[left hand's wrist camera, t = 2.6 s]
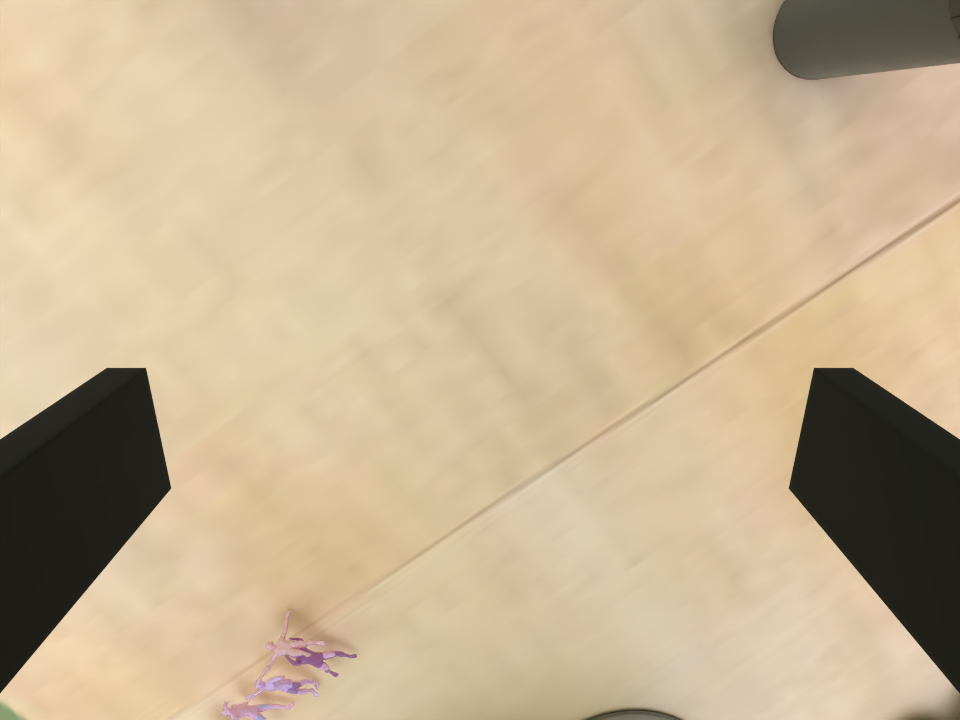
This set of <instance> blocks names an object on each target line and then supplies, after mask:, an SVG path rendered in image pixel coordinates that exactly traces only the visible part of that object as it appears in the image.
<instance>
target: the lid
mask: <svg viewBox="0 0 960 720" xmlns="http://www.w3.org/2000/svg"><path fill="white" fill-rule="evenodd" d="M948 9H949V15H950V19H949V21H950V22H952V25H953V28H954V30H955V32H956V34H957V36H958V37H957V39H958V40H960V0H948Z"/></svg>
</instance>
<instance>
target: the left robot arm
mask: <svg viewBox="0 0 960 720" xmlns="http://www.w3.org/2000/svg"><path fill="white" fill-rule="evenodd" d="M170 489H171V485H170V481H169V476H168V471H167V466H166V462H165V457H164V452H163V447H162V442H161V438H160V433H159V428H158V423H157V419H156V414H155V409H154V404H153V400H152V395H151V390H150V385H149V380H148V376H147V371H146V368H106V369H105V370H103V371H102V372H100V373H99V374H97V375H96V376H94V377H93V378H91V379H90V380H88V381H87V382H85V383H84V384H82V385H81V386H79V387H78V388H76V389H75V390H73V391H72V392H70V393H69V394H67V395H66V396H64V397H63V398H61V399H60V400H58V401H57V402H55V403H54V404H52V405H51V406H50V407H48V408H47V409H45V410H44V411H42V412H41V413H39V414H38V415H36V416H35V417H33V418H32V419H30V420H29V421H27V422H26V423H24V424H23V425H21V426H20V427H18V428H17V429H15V430H14V431H12V432H11V433H9V434H8V435H6V436H5V437H3V438H2V439H0V693H1V692H2V691H3V689H4V688H5V687H6V686H7V685H8V683H9V682H10V681H11V680H12V679H13V677H14V676H15V675H16V674H17V673H18V671H19V670H20V669H21V668H22V667H23V665H24V664H25V663H26V662H27V661H28V659H29V658H30V657H31V656H32V655H33V653H34V652H35V651H36V650H37V649H38V647H39V646H40V645H41V644H42V643H43V641H44V640H45V639H46V638H47V637H48V635H49V634H50V633H51V632H52V631H53V629H54V628H55V627H56V626H57V625H58V623H59V622H60V621H61V620H62V619H63V617H64V616H65V615H66V614H67V613H68V611H69V610H70V609H71V608H72V607H73V605H74V604H75V603H76V602H77V601H78V599H79V598H80V597H81V596H82V595H83V593H84V592H85V591H86V590H87V589H88V587H89V586H90V585H91V584H92V583H93V581H94V580H95V579H96V578H97V577H98V575H99V574H100V573H101V572H102V571H103V569H104V568H105V567H106V566H107V565H108V563H109V562H110V561H111V560H112V559H113V557H114V556H115V555H116V554H117V553H118V551H119V550H120V549H121V548H122V547H123V545H124V544H125V543H126V542H127V541H128V539H129V538H130V537H131V536H132V535H133V534H134V532H135V531H136V530H137V529H138V528H139V526H140V525H141V524H142V523H143V522H144V520H145V519H146V518H147V517H148V516H149V514H150V513H151V512H152V511H153V510H154V508H155V507H156V506H157V505H158V504H159V502H160V501H161V500H162V499H163V498H164V496H165V495H166V494H167V493H168V492H169V490H170ZM789 489H790V490H791V492H792V493H793V494H794V495H795V496H796V498H797V499H798V500H799V501H800V502H801V504H802V505H803V506H804V507H805V508H806V510H807V511H808V512H809V513H810V514H811V516H812V517H813V518H814V519H815V520H816V522H817V523H818V524H819V525H820V526H821V528H822V529H823V530H824V531H825V532H826V534H827V535H828V536H829V537H830V538H831V539H832V541H833V542H834V543H835V544H836V545H837V547H838V548H839V549H840V550H841V551H842V553H843V554H844V555H845V556H846V557H847V559H848V560H849V561H850V562H851V563H852V565H853V566H854V567H855V568H856V569H857V571H858V572H859V573H860V574H861V575H862V577H863V578H864V579H865V580H866V581H867V583H868V584H869V585H870V586H871V587H872V589H873V590H874V591H875V592H876V593H877V595H878V596H879V597H880V598H881V599H882V601H883V602H884V603H885V604H886V605H887V607H888V608H889V609H890V610H891V611H892V613H893V614H894V615H895V616H896V617H897V619H898V620H899V621H900V622H901V623H902V625H903V626H904V627H905V628H906V629H907V631H908V632H909V633H910V634H911V635H912V637H913V638H914V639H915V640H916V641H917V643H918V644H919V645H920V646H921V647H922V649H923V650H924V651H925V652H926V653H927V655H928V656H929V657H930V658H931V659H932V661H933V662H934V663H935V664H936V665H937V667H938V668H939V669H940V670H941V671H942V673H943V674H944V675H945V676H946V677H947V679H948V680H949V681H950V682H951V683H952V685H953V686H954V687H955V688H956V689H957V691H958V692H959V693H960V439H958V438H957V437H955V436H954V435H952V434H951V433H949V432H948V431H946V430H945V429H943V428H942V427H940V426H939V425H937V424H936V423H934V422H933V421H931V420H930V419H928V418H927V417H925V416H924V415H922V414H921V413H919V412H918V411H916V410H915V409H913V408H912V407H910V406H909V405H907V404H906V403H905V402H903V401H902V400H900V399H899V398H897V397H896V396H894V395H893V394H891V393H890V392H888V391H887V390H885V389H884V388H882V387H881V386H879V385H878V384H876V383H875V382H873V381H872V380H870V379H869V378H867V377H866V376H864V375H863V374H861V373H860V372H858V371H857V370H855V369H854V368H814V371H813V376H812V380H811V385H810V390H809V395H808V400H807V404H806V409H805V414H804V419H803V423H802V428H801V433H800V438H799V442H798V447H797V452H796V457H795V462H794V466H793V471H792V476H791V481H790V485H789ZM590 720H679V719H676V718H674V717H671V716H668V715H664V714H661V713H655V712H648V711H622V712H615V713H609V714H605V715H601V716H598V717H595V718H592V719H590Z"/></svg>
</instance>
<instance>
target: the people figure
mask: <svg viewBox="0 0 960 720" xmlns="http://www.w3.org/2000/svg"><path fill="white" fill-rule="evenodd" d="M290 612H291V611H290V609H289V610H288V611H287V614H286V620H285V624H284V629H283V632H282V634H281V636H280V638H279V640H278V641H277V643H276V645H275V644H274V643H273V642H268V643H267V644H266V649H268V650H273V654H272V657H271V660H270V662H269V664H268V665H267V667H266V668H265V670H264V671H263V673H262V674H261V676H260V677H259V678H258V680H256V681H255V683H254V685H255V687H256V688H257V689H259V690H258V691H257V692H255V693H254V694H251V695H248V696H247V697H246V698H247V699H249V698H251V699H252V698H253V697H254V696H255V695H257V694H259V693H260V692H262V691H263V690H267V691H277V690H280V691H283V692H287V693H292V694H305V693H308V692H312V693H313V694H314V695H315V696H318V695H319V694H318V693H317V692H316V691H315V690H314V689H313V688H312V689H299V687H301V686H302V685H305V684H310V683H311V684H314V686H315V687H316V689H317V690H318V688H319V685H318V683H317V681H316V680H313V681H311V680H308V679H304V680H302V681H292V680H290V679H285V677H284V676H277V677H273V678H270V679H268V680H267V681H265V682H263V681H262V680H261V679H262V677H263V676H264V675H265V674H266V673H267V672H268V671H269V669H270V668H271V666H272V665H273V663H274V662H275V660H276V658H277V657H278V656H282V655H285V657H286V658H287V659H288V660H289V661H290V662H291V663H292V664H293V665H294V666H300V665H302V664H310V665H313V666H314V667H317V668H319V669H321V670H325V672H327V673H330V674H332V675H333V676H334V677H337V676H338V674H337V673H335V672H333V671H331V670H330V667H329V666H328V665H327V664H326V663H325V662H323V660H326V659H329V658H332V657H336V656H340V657H348V658H356V657H357V655H356V654H353V655H348V654H346V653H344V652H342V651H335V652H334V651H328V652H322V653H321V652H313V651H311V650H309V649H307V648H306V646H308V645H312V644H318V645H321V646H325V643H324V641H312V640H307V641H304V640H303V639H302V638H289V639H290V640H297V641H291V642H288V641H286V640H285V636H286V633H287V628H288V617H289V615H290ZM287 655H288V656H291V657H296V661H293V660H291V659H290V658H289V657H288V656H287ZM251 699H250V700H251ZM250 700H249V701H250ZM224 702H225V701H224ZM227 703H228V702H227ZM227 703H226V702H225V703H224V708H225V709H223V710H222V712H221V714H222V715H223V716H225V715H228V714H229V715H230V716H231V717H232V718H233V719H234V720H238V719H240V718H242V717H244V716H248V717H250V718H251V719H254V720H266V718H265V717H264V716H263V715H262V714H260V713H258V712H263V711H265V710H268V709H284V708H287V709H290V708H291V707H292V706H293V705H294V704H295V703H294V702H292V703H291V704H290V705H288V706H283V705H279V704H261V705H252V706H251V705H247V704H248V702H244V703H242V704H236V705H234V704H233V705H231V708H228V707H227V706H226V705H227Z"/></svg>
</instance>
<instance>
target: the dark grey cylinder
mask: <svg viewBox="0 0 960 720" xmlns="http://www.w3.org/2000/svg"><path fill="white" fill-rule="evenodd" d="M949 19H950V15H949V9H948V0H785V1H784V3H783V5H782V6H781V8H780V10H779V12H778V15H777V18H776V21H775V25H774V32H773V42H774V48H775V52H776V55H777V57H778V59H779V61H780V63H781V64H782V66H783V67H784V68H785V69H786V70H787V71H788V72H789V73H791V74H793V75H794V76H797V77H799V78H803V79H809V80H815V79H825V78H833V77H842V76H851V75H859V74H868V73H877V72H885V71H894V70H903V69H911V68H920V67H929V66H937V65H946V64H955V63H960V40H958V39H957V37H958V36H957V34H956V32H955V30H954V28H953V25H952V22H950V21H949Z"/></svg>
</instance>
